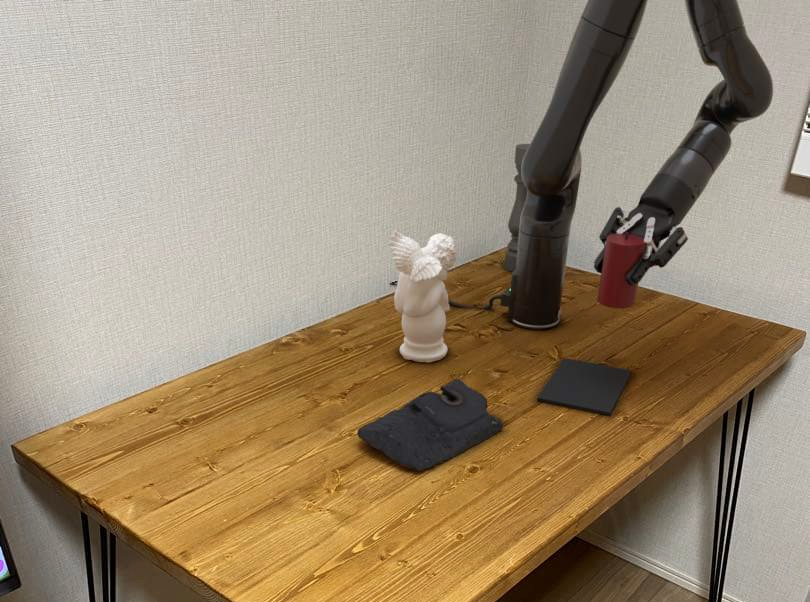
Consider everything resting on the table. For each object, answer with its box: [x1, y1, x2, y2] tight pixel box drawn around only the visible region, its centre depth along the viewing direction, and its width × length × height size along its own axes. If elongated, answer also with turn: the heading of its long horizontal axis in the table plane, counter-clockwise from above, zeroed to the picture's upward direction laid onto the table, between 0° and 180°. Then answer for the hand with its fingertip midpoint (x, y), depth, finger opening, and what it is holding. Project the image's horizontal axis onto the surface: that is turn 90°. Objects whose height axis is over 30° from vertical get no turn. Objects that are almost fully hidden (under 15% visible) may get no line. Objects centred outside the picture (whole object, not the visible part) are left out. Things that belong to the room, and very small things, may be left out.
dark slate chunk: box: [357, 378, 504, 472], centre depth 133 cm, size 15×22×5 cm
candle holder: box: [504, 143, 531, 273], centre depth 188 cm, size 6×6×25 cm
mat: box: [536, 357, 633, 416], centre depth 148 cm, size 12×17×1 cm
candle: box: [596, 232, 645, 309], centre depth 140 cm, size 6×6×11 cm
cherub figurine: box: [388, 230, 458, 363], centre depth 150 cm, size 12×12×22 cm
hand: (613, 276), depth 140 cm, fingers closed on candle, 6 cm apart
